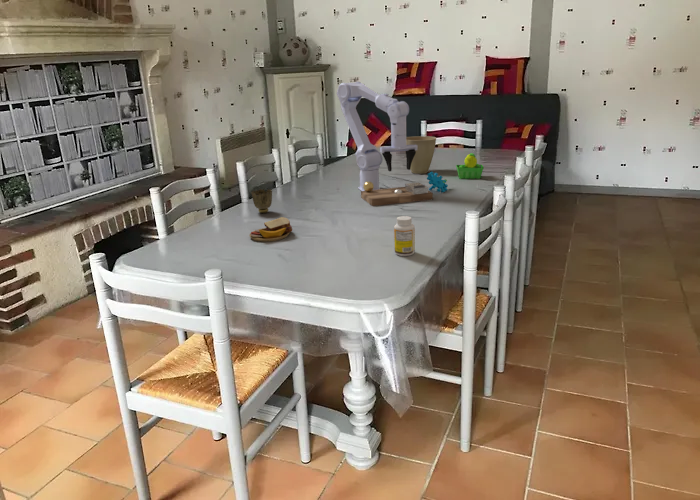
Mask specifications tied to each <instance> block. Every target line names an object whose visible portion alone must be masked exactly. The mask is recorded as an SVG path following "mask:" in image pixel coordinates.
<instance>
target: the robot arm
mask: <svg viewBox="0 0 700 500" xmlns="http://www.w3.org/2000/svg"><path fill="white" fill-rule="evenodd" d="M337 87H338V88H337V91H336V96H337V98H338V100H339V103H340V108H341V112H342V115H343V116H344V120H345V122H346V124H347V126H348V128H349V130H350V131H349V132H350V133H351V136H352V138H353V140H354V143H355V145H356V147H357V150H356V152H355V154H354V155H355V158H356V164H357V166H358V168H359V170H360V171H359V186H358V187H357V189H358V190H360V192H361V191H365V190H364V188H363V185H364V183H365V182H368V181H369V182H372V183H373V185H374V188H373V190H378V189H382V188H380V172H379V169H380V168H381V167H380V166H381V165H382V163H383V158H384V161H385V163H386V167H387V171H388V172H392V171H393V170H392V157H393V154H392V153H394V152H395V153H397V152H405V157H406V169H407V170H408V171H409V170H410V171H411V169H410V167H411V163H412V160H413V158H414V156H415V154H416V151H415V150H417V145H406V137H407V116H408V115H409V113H410V106H409V104H408V103H407V102H406V101H404V100H400V101H399V100H398V99H397V98H393V97H391V96H389V93H386V92H385V93H380V94H379V93H378V92H376V91H374V90H373V89H371V88H369V87H368V86H367V85H365V83H362V82H361V81H353V82H341V83H340V84H339V85H338V86H337ZM362 98H364V99H366V100H369V101H371V102H373V103H375V104H374V105H375V107H376V108H377V109H379V110H381V111H383V112H385V113H387V115H388V117H389V122H390V131H391V132H390V133H391V134H390V140H391V141H390V144H391V145H388V146H383V147H382V146H381V147H379V150H378V148H377V146H376V145H374V144H373V143H371V142H370V139H369V137H368V134H367V132H366V130H365V127H364V124H363V123H362V120H361V118H360V115H359V113H358V111H357V110H358V109H356V108H357V105H358V104H359V103H360V101H361V99H362Z"/></svg>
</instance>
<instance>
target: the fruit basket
mask: <svg viewBox="0 0 700 500" xmlns="http://www.w3.org/2000/svg"><path fill="white" fill-rule="evenodd" d="M463 162H464V164H456V165H455V167H456V171H457V175H458V178H459V180H464V179H465V180H467V179H469V180H474V179H475V178H476V180H477V179H481V178H482V173H483V170H484V169H485V168H484V165H482V164H479V163H478V159H477V158H476V155H475V153H472V152H471V153H469V154H467V155H466V157H465V158H464V161H463Z"/></svg>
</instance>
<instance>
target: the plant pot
mask: <svg viewBox="0 0 700 500" xmlns="http://www.w3.org/2000/svg"><path fill="white" fill-rule="evenodd" d="M436 142H437V137H435V136H429V135H428V136H427V135H421V136H406V145H417V150H415V151H416V154H415V156H414V158H413V160H412V163H411V167H410V171H411V173H412V174H416V175H422V174H428V172H429V169H430V167H431V163H432V161H433V158H434V153H435V148H436Z"/></svg>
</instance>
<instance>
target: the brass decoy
mask: <svg viewBox="0 0 700 500" xmlns="http://www.w3.org/2000/svg"><path fill="white" fill-rule="evenodd" d="M363 188H364V190H365V191H367V192H370V191H372V190H373V188H374V185H373V183H372V182H369V181H368V182H365V183H364V185H363Z"/></svg>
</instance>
